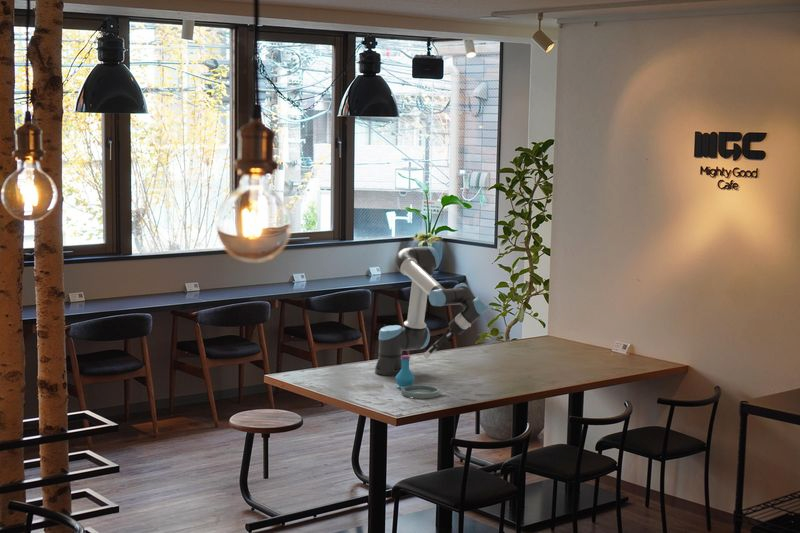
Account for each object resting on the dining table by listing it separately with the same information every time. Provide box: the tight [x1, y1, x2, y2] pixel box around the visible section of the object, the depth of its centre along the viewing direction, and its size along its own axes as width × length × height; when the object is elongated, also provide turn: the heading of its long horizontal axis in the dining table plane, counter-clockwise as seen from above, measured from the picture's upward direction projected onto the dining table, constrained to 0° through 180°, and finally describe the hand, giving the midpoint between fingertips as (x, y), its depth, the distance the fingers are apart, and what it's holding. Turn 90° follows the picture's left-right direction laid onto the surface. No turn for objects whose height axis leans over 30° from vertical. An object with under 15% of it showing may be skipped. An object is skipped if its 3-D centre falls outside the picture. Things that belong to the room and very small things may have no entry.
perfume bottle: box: [395, 354, 416, 389], centre depth 488 cm, size 9×9×15 cm
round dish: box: [400, 384, 441, 399], centre depth 475 cm, size 17×17×2 cm
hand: (427, 353), depth 485 cm, fingers open, 13 cm apart
